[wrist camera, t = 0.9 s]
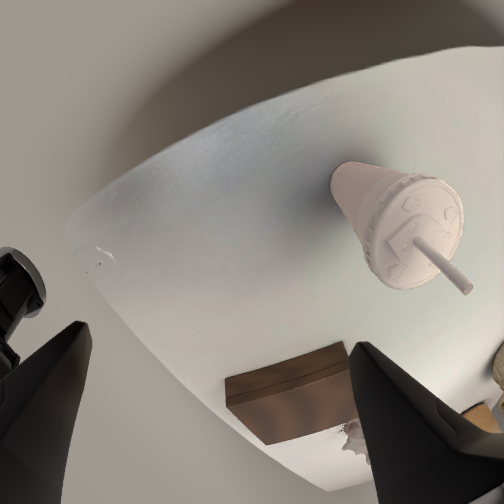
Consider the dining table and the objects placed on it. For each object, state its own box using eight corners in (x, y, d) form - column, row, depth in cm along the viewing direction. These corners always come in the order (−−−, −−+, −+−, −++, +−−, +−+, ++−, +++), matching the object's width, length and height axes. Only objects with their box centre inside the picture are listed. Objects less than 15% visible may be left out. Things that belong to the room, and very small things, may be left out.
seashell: (340, 438, 45) (351, 477, 37) (329, 418, 39) (343, 466, 31) (387, 418, 44) (403, 456, 36) (387, 394, 38) (407, 440, 30)
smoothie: (315, 140, 19) (449, 210, 7) (390, 148, 20) (533, 217, 7) (310, 222, 22) (394, 359, 10) (379, 221, 23) (486, 331, 11)
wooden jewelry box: (263, 423, 38) (266, 445, 34) (224, 378, 31) (225, 406, 27) (352, 395, 36) (360, 417, 33) (341, 340, 29) (353, 367, 26)
